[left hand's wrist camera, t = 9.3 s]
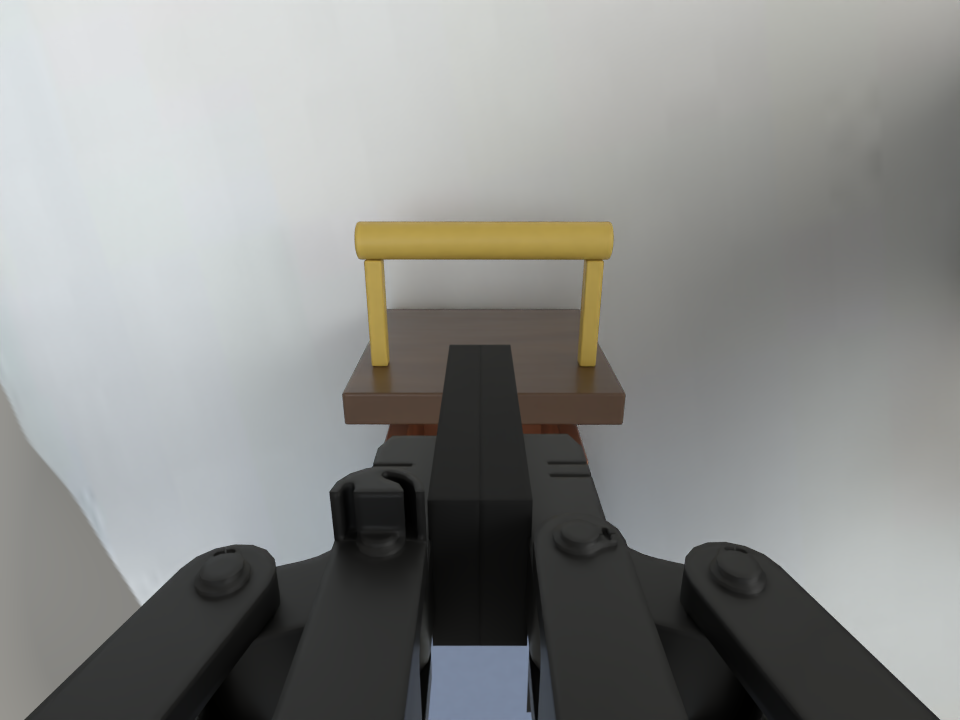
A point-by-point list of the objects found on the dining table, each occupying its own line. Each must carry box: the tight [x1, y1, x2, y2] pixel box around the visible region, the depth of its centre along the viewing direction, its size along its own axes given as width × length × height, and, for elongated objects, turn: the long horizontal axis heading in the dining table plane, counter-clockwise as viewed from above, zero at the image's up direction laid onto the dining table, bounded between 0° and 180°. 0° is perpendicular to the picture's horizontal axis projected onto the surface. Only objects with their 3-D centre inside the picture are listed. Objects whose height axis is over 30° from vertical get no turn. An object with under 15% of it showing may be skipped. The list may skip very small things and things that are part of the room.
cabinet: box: [428, 638, 532, 720], centre depth 31 cm, size 18×11×12 cm, turn 0°
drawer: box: [342, 222, 626, 465], centre depth 26 cm, size 22×10×10 cm, turn 0°
